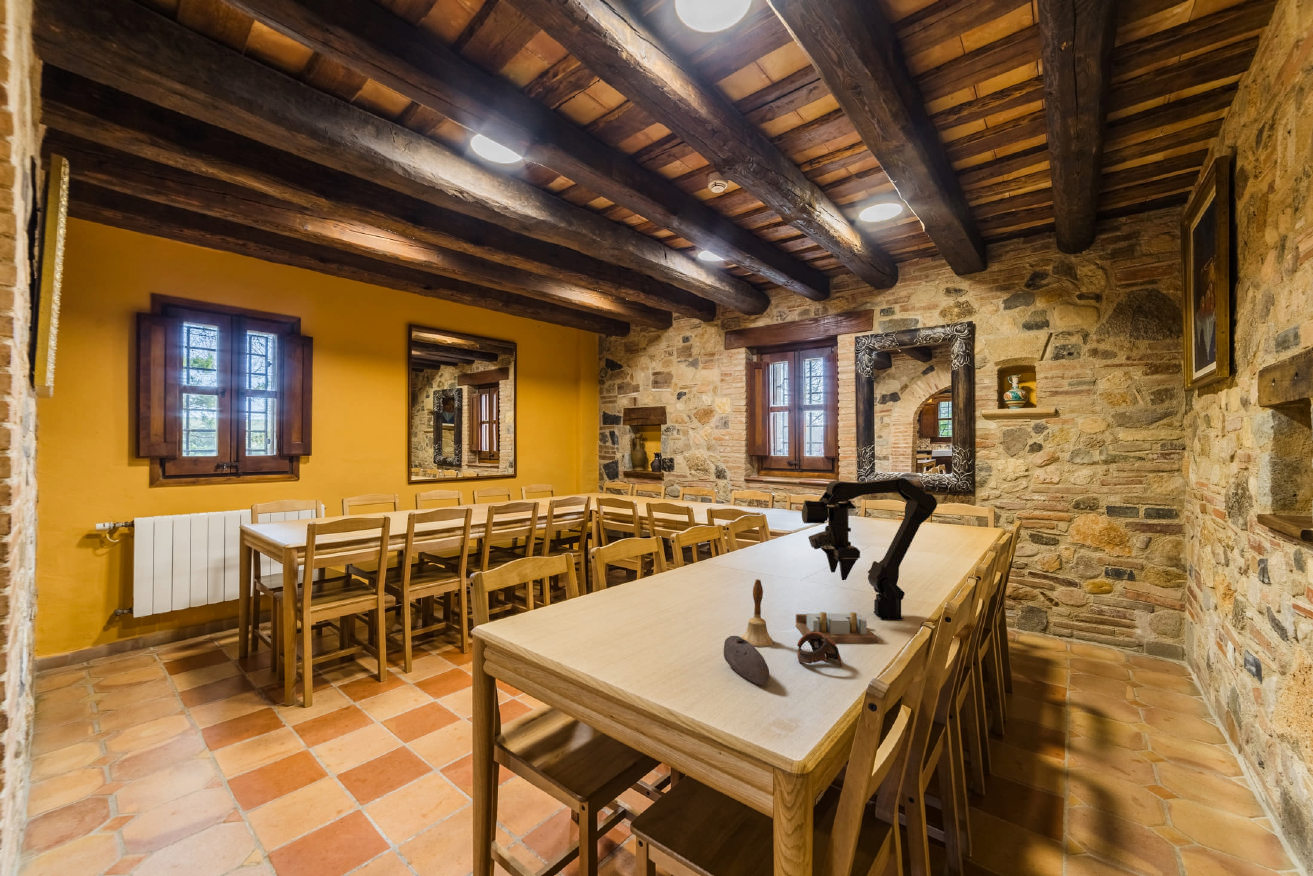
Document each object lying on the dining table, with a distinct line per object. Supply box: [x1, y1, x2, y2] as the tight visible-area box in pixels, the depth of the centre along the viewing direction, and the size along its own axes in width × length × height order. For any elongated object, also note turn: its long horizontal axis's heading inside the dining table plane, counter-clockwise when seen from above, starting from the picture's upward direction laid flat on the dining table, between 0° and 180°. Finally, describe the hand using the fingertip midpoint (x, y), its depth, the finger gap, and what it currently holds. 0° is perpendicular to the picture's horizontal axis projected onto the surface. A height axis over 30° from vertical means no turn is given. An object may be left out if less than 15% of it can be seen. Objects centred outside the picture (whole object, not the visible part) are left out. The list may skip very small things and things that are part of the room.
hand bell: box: [740, 579, 774, 648], centre depth 139 cm, size 8×8×16 cm
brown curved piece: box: [797, 630, 843, 668], centre depth 126 cm, size 12×10×8 cm
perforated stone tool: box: [723, 635, 771, 686], centre depth 118 cm, size 15×5×7 cm, turn 21°
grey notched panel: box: [806, 612, 868, 634], centre depth 143 cm, size 14×6×4 cm, turn 91°
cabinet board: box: [795, 611, 879, 644], centre depth 144 cm, size 18×12×6 cm, turn 90°
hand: (838, 576), depth 159 cm, fingers open, 9 cm apart
